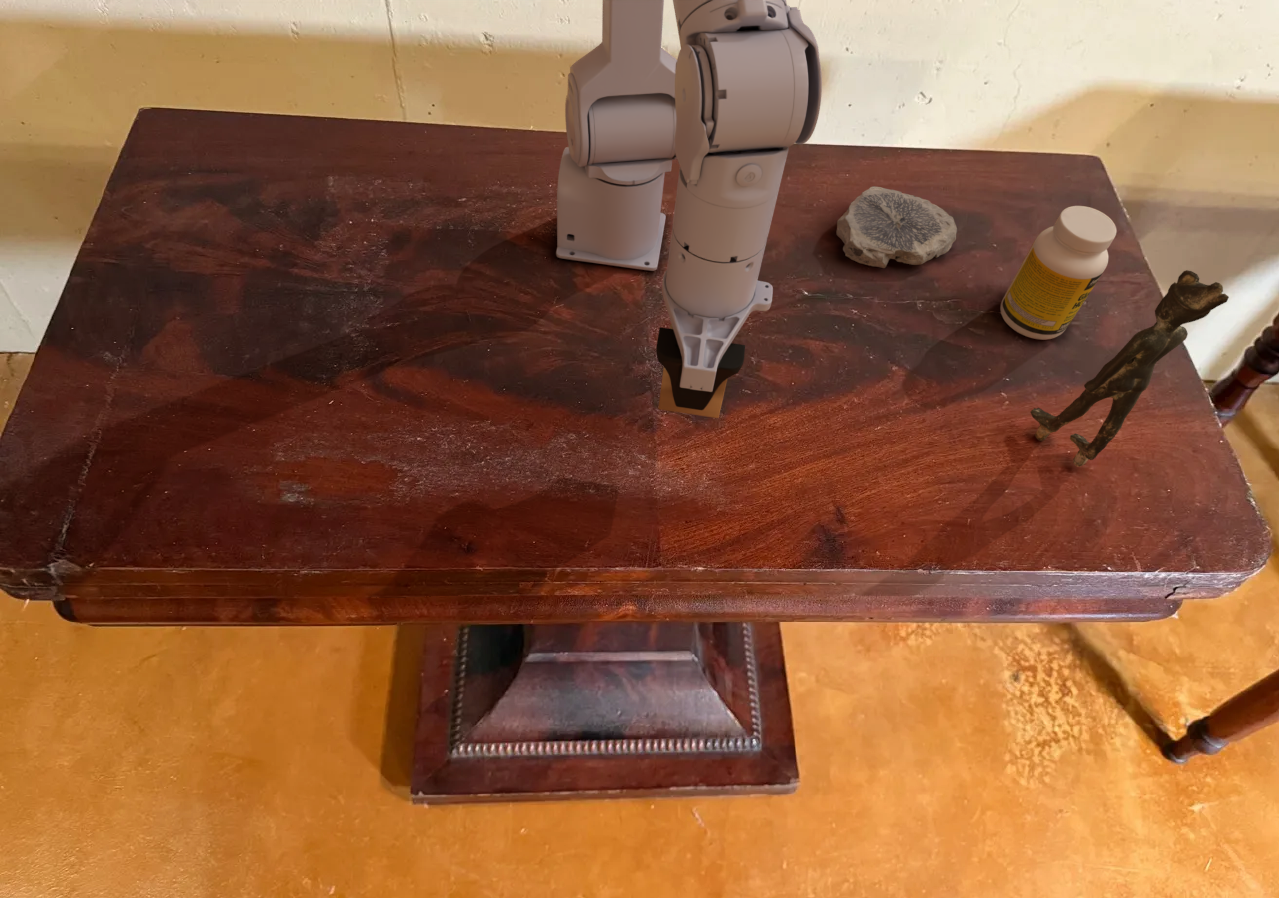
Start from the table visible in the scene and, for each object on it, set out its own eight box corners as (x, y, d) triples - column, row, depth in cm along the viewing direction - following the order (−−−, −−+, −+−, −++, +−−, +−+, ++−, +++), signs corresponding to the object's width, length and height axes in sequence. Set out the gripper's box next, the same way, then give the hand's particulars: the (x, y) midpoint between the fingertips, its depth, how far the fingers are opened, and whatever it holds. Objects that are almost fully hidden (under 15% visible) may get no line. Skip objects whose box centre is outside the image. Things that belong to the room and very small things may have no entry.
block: (657, 409, 64) (663, 369, 60) (665, 364, 66) (670, 323, 63) (718, 418, 64) (727, 378, 60) (723, 372, 66) (732, 332, 63)
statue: (1050, 410, 76) (1182, 224, 59) (1104, 465, 72) (1259, 284, 56) (1009, 428, 74) (1133, 243, 58) (1062, 485, 71) (1209, 306, 55)
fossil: (871, 261, 81) (831, 176, 84) (852, 288, 84) (813, 205, 88) (972, 249, 85) (929, 168, 88) (949, 274, 88) (909, 196, 92)
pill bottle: (1062, 350, 80) (1125, 257, 71) (994, 330, 81) (1047, 235, 72) (1067, 305, 83) (1127, 211, 74) (1002, 286, 84) (1053, 191, 75)
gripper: (781, 327, 49) (741, 468, 59) (790, 166, 57) (754, 315, 68) (654, 308, 49) (638, 452, 60) (682, 150, 57) (663, 302, 68)
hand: (693, 378), depth 64 cm, fingers closed on block, 4 cm apart
